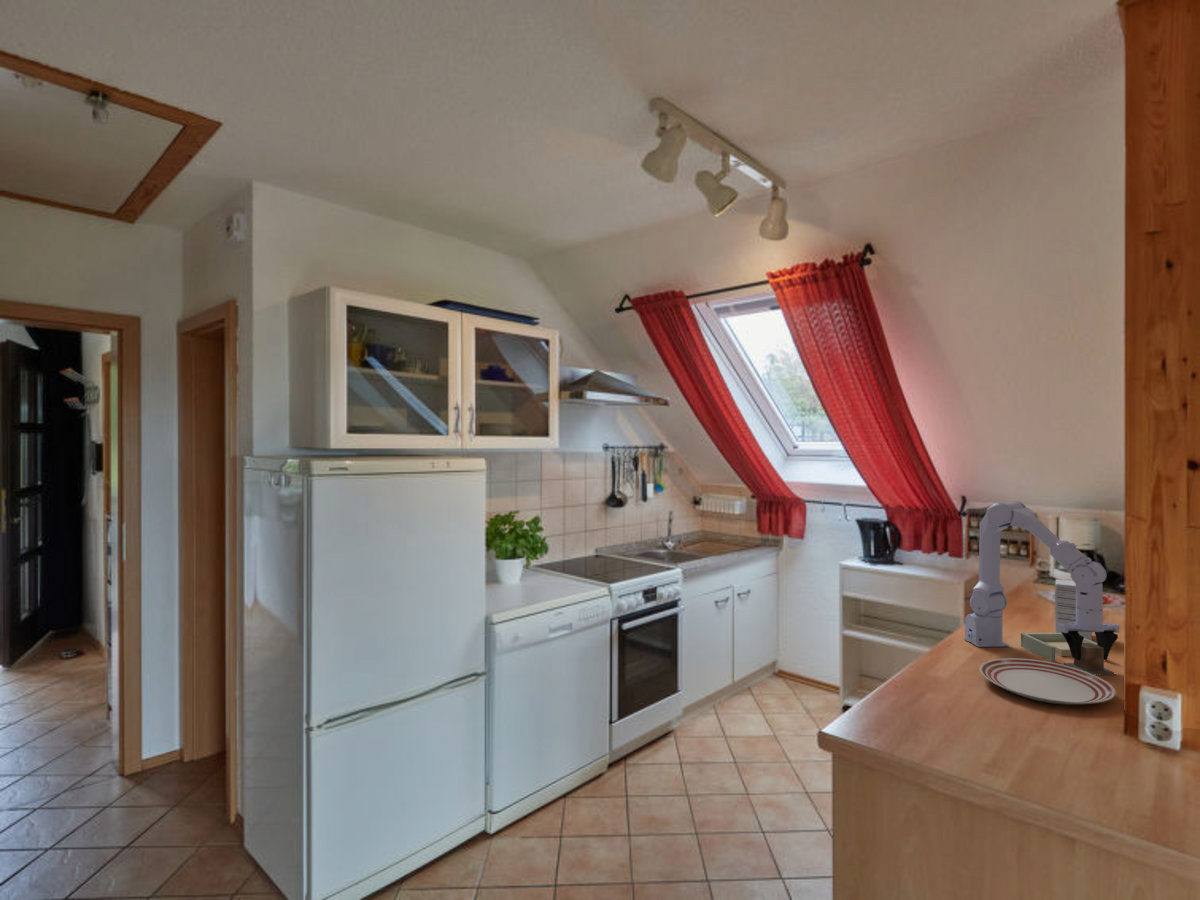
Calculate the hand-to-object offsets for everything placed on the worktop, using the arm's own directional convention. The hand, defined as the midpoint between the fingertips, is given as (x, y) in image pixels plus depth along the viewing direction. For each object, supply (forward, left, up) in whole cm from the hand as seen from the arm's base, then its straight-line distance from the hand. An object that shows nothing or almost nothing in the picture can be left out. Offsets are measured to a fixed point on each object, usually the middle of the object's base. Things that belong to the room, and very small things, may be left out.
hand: (1089, 658), depth 168 cm
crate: (+2, +13, -3) cm, 13 cm away
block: (0, 0, -2) cm, 3 cm away
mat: (0, 0, -3) cm, 3 cm away
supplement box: (+17, +29, -3) cm, 34 cm away
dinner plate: (-21, -13, -3) cm, 25 cm away
